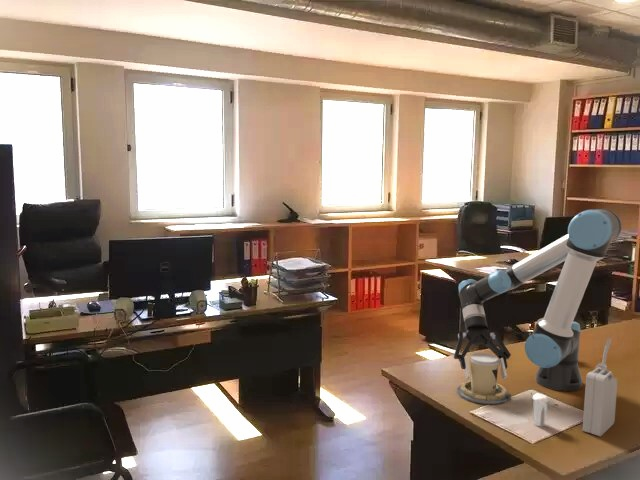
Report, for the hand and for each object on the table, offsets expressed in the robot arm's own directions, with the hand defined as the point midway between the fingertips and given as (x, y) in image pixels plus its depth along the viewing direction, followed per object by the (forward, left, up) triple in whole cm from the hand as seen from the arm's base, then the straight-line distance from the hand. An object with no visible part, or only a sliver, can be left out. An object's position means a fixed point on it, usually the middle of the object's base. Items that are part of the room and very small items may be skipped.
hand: (486, 377), depth 181 cm
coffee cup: (+1, -3, -6) cm, 7 cm away
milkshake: (-17, +14, -7) cm, 23 cm away
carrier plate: (+1, -2, -7) cm, 7 cm away
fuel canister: (-34, +7, -7) cm, 35 cm away
